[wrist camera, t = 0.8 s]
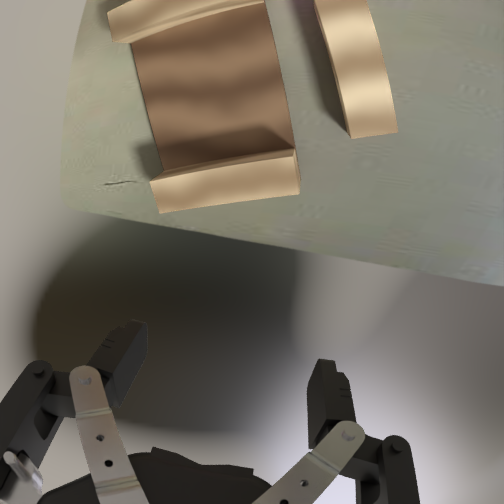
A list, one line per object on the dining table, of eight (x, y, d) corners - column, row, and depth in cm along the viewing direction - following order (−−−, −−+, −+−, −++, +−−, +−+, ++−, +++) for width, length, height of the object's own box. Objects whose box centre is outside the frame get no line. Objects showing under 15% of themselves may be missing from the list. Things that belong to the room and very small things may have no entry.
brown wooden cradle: (129, 16, 28) (106, 12, 24) (257, -25, 24) (249, -39, 20) (175, 197, 40) (159, 213, 36) (300, 179, 36) (299, 194, 32)
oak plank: (313, 7, 26) (314, -2, 22) (357, 1, 24) (363, -8, 21) (347, 132, 32) (351, 138, 29) (389, 126, 31) (398, 132, 28)
